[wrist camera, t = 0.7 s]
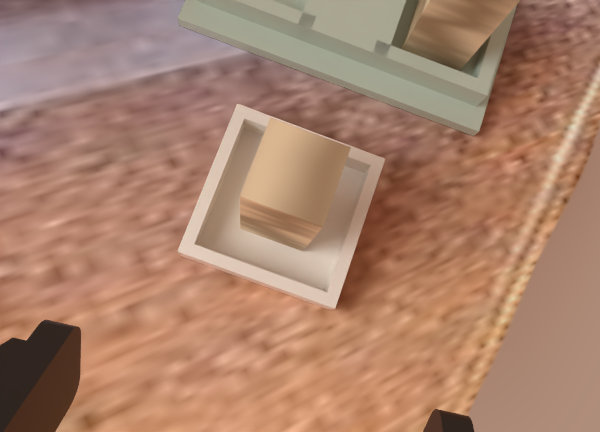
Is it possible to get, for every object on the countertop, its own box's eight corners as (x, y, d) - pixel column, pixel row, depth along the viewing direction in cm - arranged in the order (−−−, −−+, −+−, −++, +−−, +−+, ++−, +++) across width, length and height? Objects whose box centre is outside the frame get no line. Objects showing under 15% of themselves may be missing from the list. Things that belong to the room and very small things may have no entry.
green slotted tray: (179, 25, 41) (174, 2, 38) (237, -108, 44) (237, -138, 41) (473, 136, 42) (490, 122, 39) (514, -1, 45) (534, -24, 42)
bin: (181, 256, 38) (177, 251, 36) (237, 116, 41) (237, 103, 38) (329, 309, 39) (335, 308, 36) (376, 168, 41) (385, 158, 38)
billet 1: (240, 228, 39) (239, 196, 29) (263, 166, 40) (271, 114, 30) (302, 251, 39) (323, 226, 29) (324, 189, 40) (351, 144, 30)
